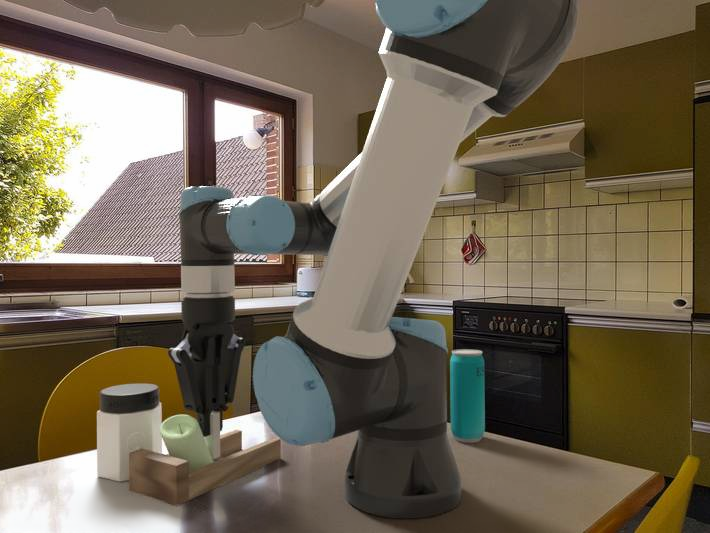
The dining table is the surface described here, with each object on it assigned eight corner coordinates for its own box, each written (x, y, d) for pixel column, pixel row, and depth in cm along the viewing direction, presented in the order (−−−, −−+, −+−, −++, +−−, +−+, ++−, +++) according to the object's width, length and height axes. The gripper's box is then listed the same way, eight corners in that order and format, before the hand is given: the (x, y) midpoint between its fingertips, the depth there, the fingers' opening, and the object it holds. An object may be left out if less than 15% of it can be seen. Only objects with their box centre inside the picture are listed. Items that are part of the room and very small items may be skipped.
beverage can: (489, 437, 95) (488, 350, 95) (478, 446, 91) (477, 355, 91) (458, 432, 99) (457, 347, 99) (445, 440, 94) (444, 352, 94)
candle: (220, 460, 79) (202, 411, 77) (198, 484, 75) (178, 433, 73) (194, 457, 82) (175, 410, 79) (171, 481, 77) (151, 431, 75)
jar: (102, 486, 75) (101, 398, 75) (92, 468, 82) (92, 387, 82) (169, 472, 80) (168, 390, 80) (155, 456, 87) (154, 380, 87)
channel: (280, 458, 86) (280, 426, 86) (176, 505, 69) (176, 465, 69) (236, 447, 91) (236, 417, 91) (129, 490, 74) (129, 452, 74)
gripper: (223, 291, 87) (225, 438, 88) (154, 297, 77) (156, 464, 77) (258, 292, 83) (259, 447, 84) (190, 299, 73) (193, 476, 73)
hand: (210, 455), depth 81 cm, fingers closed
